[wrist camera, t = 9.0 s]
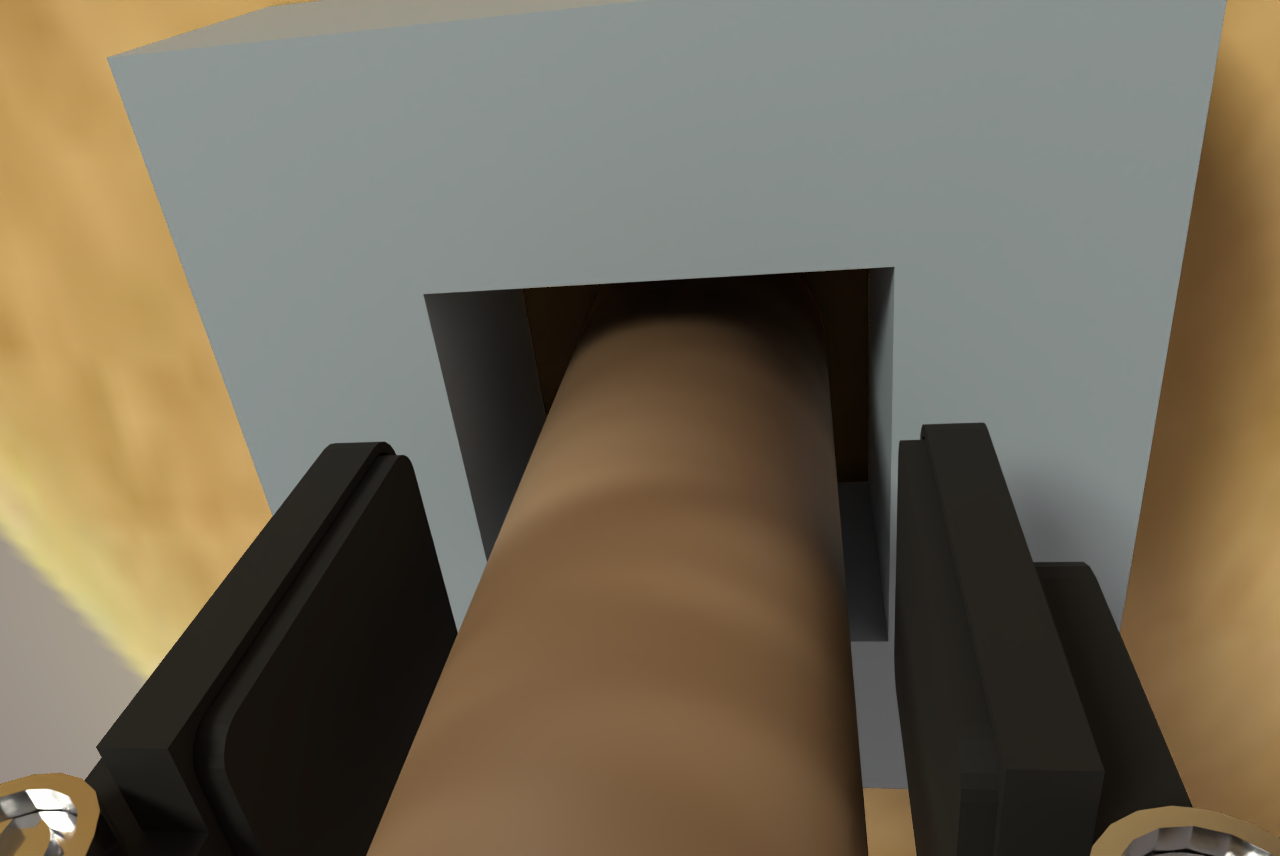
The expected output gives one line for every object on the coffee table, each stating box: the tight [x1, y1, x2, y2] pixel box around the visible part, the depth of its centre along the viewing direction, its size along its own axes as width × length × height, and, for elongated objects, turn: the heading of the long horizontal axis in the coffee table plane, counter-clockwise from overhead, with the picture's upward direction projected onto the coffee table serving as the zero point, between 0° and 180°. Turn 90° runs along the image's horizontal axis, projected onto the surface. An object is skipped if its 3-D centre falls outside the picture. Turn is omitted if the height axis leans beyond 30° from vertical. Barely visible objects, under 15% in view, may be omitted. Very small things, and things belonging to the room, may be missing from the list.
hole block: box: [107, 0, 1227, 789], centre depth 13 cm, size 10×10×4 cm
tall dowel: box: [366, 272, 868, 856], centre depth 9 cm, size 3×3×12 cm
